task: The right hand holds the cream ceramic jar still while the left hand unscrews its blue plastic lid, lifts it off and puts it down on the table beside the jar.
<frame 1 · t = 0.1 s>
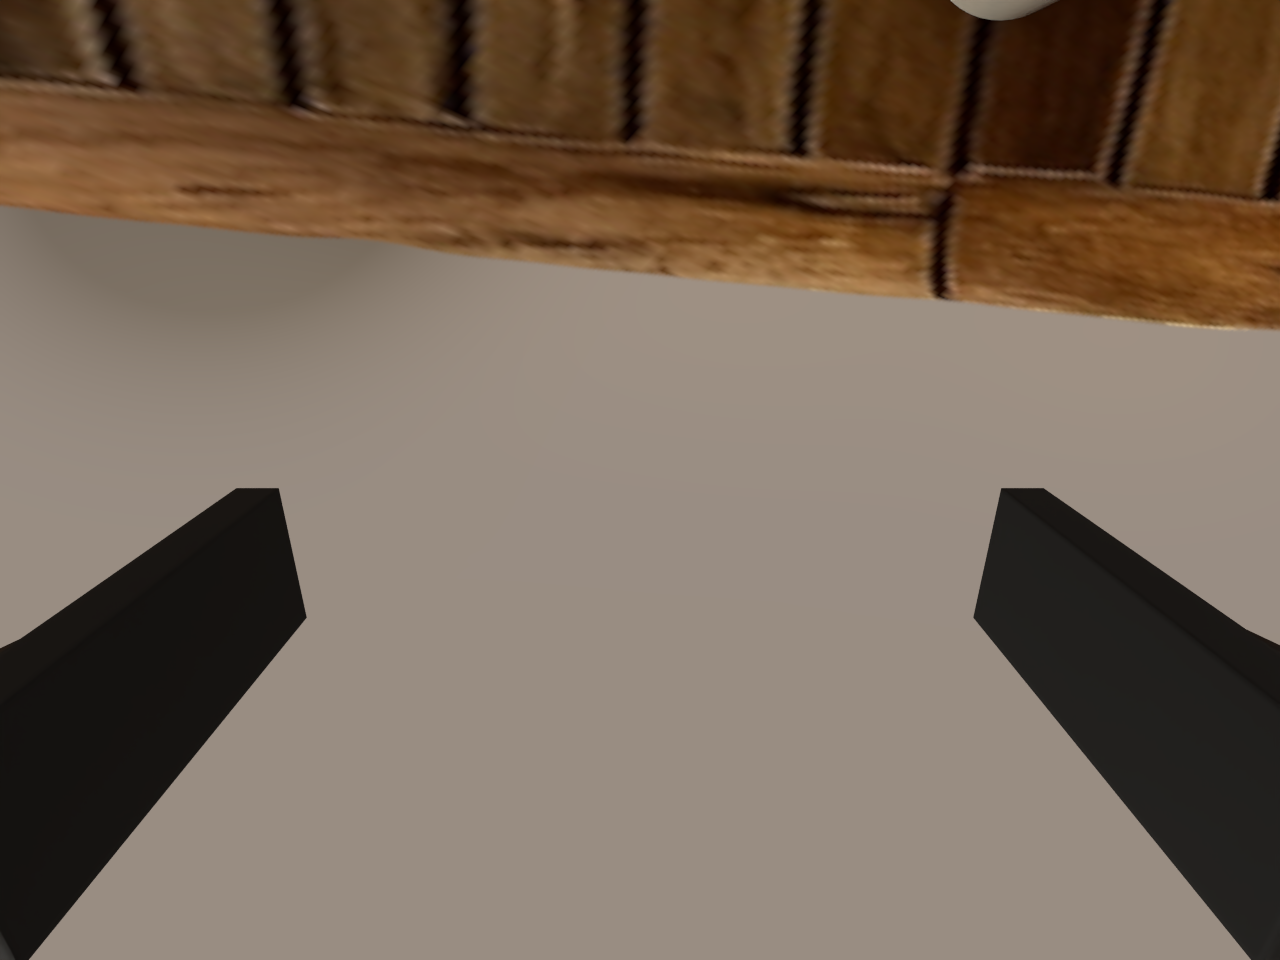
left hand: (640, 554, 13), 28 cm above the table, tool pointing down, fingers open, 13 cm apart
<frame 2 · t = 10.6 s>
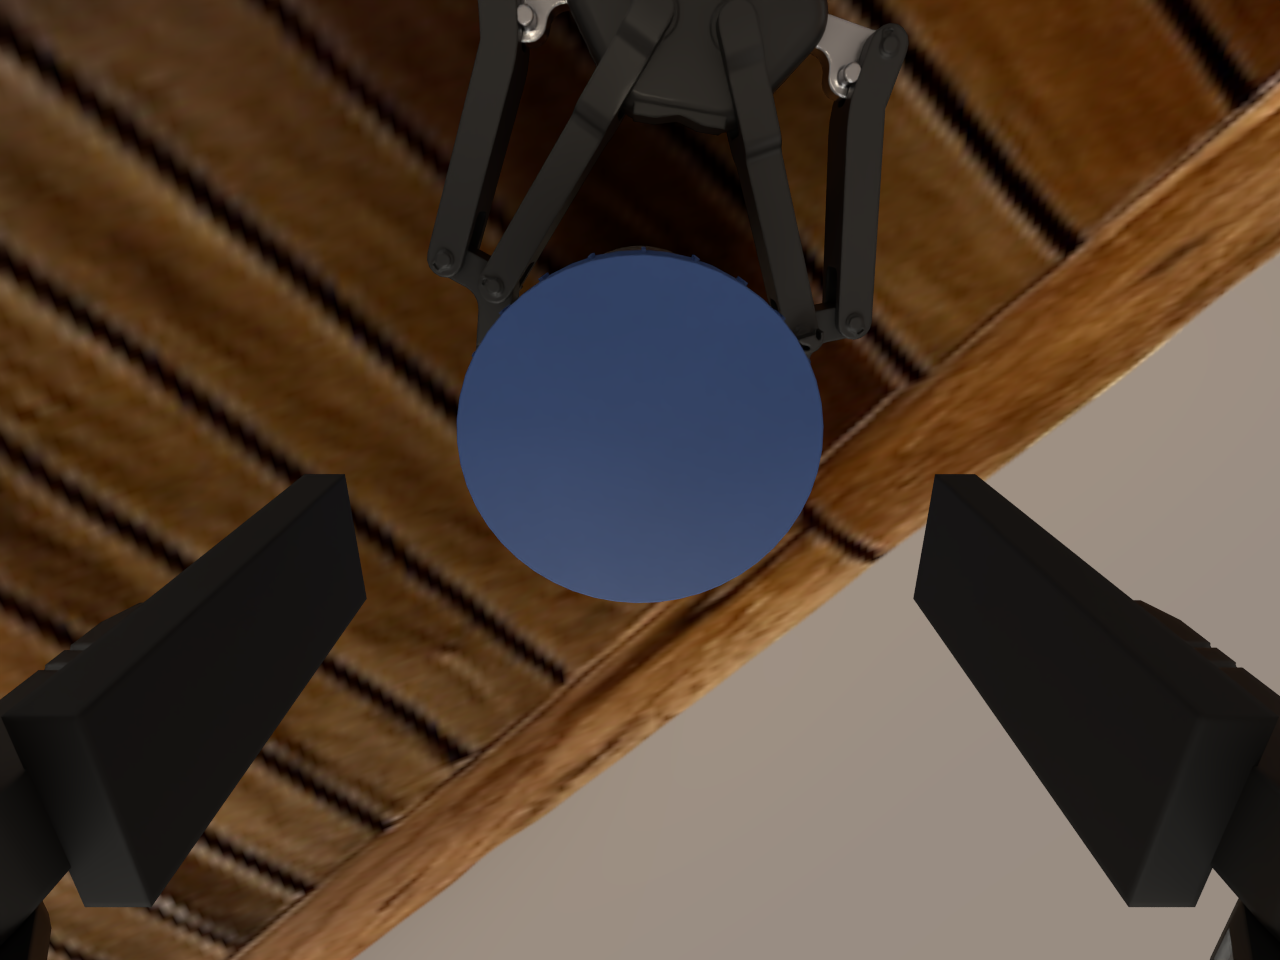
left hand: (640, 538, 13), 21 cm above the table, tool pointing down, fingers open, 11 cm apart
right hand: (623, 479, 28), fingers closed on jar, 9 cm apart
lid: (640, 442, 19), point 15 cm above the table, screwed on, not yet turned
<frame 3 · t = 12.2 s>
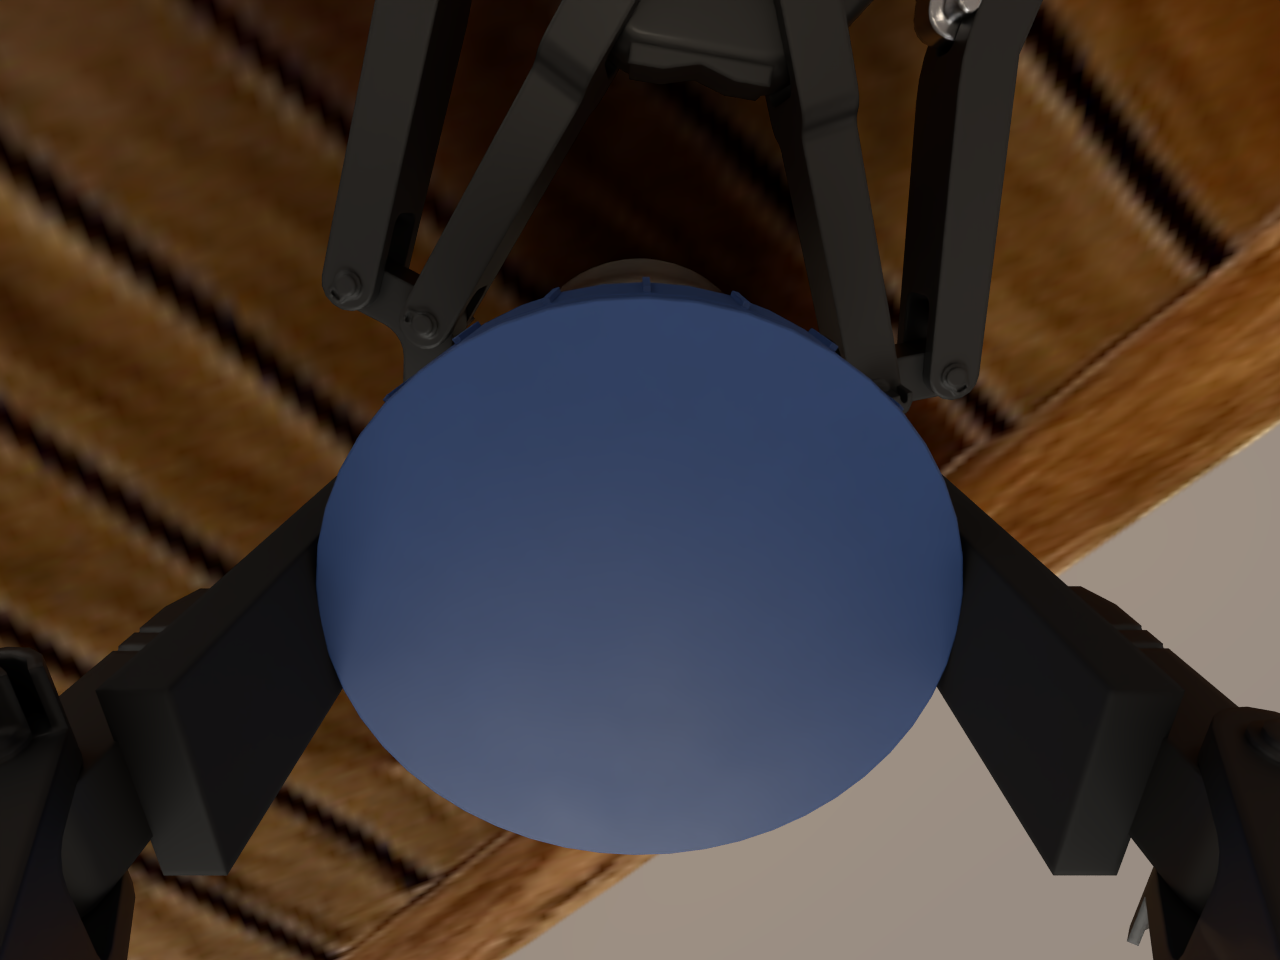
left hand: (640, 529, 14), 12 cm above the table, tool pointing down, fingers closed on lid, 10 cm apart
lid: (639, 612, 11), point 15 cm above the table, screwed on, not yet turned, touching left hand
jar: (639, 383, 25), on the table, touching right hand
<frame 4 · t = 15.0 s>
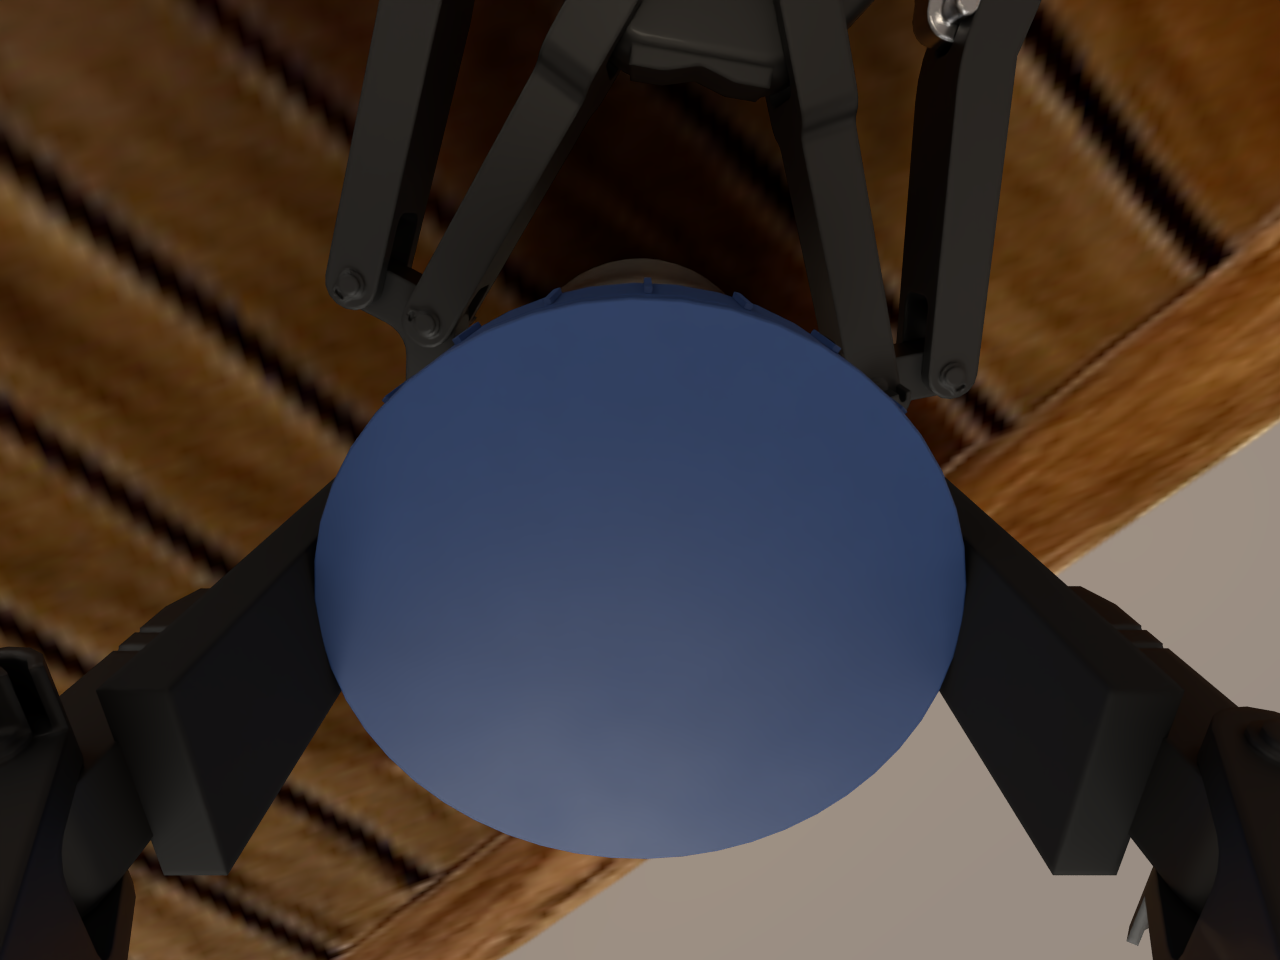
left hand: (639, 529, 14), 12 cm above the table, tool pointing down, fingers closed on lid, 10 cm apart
lid: (640, 615, 11), point 15 cm above the table, turned 62° so far, risen 0.2 cm, still on its thread, touching left hand
jar: (640, 382, 25), on the table, touching right hand
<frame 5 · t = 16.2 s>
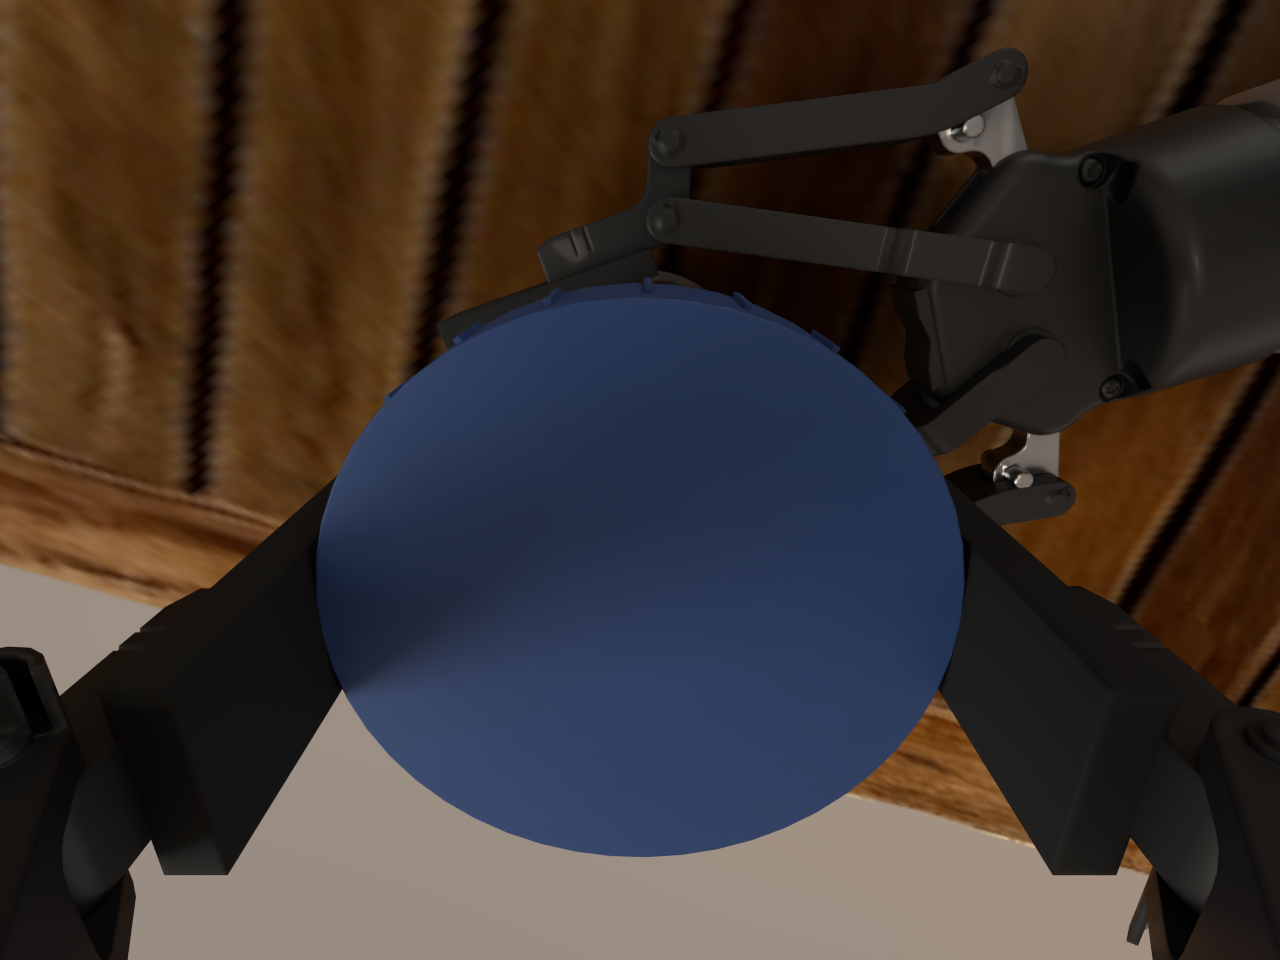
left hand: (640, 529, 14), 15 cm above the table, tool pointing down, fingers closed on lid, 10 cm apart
right hand: (512, 465, 22), fingers closed on jar, 9 cm apart
lid: (640, 614, 11), point 18 cm above the table, off its thread, touching left hand
jar: (643, 379, 28), on the table, touching right hand
when the left hand's fingers open (0 cm above the table, at t = 20.9 s): lid drops 2 cm, point 1 cm above the table.
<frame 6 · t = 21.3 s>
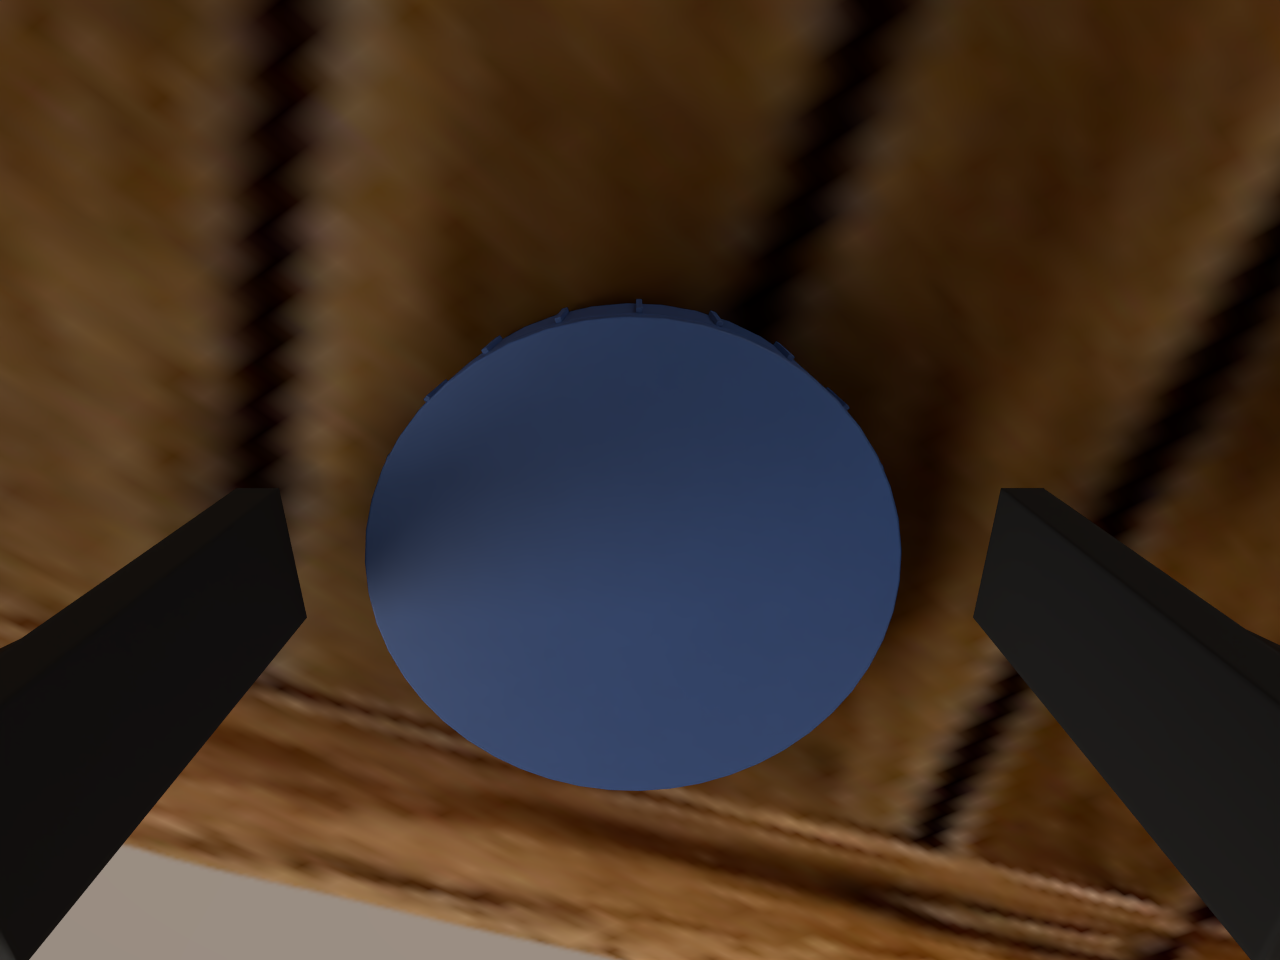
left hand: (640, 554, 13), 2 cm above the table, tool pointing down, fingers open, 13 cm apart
lid: (633, 578, 13), point 1 cm above the table, off its thread
when the right hand's fingers open (7 cm above the table, at t = 21.9 s): jar stays where it is, on the table.
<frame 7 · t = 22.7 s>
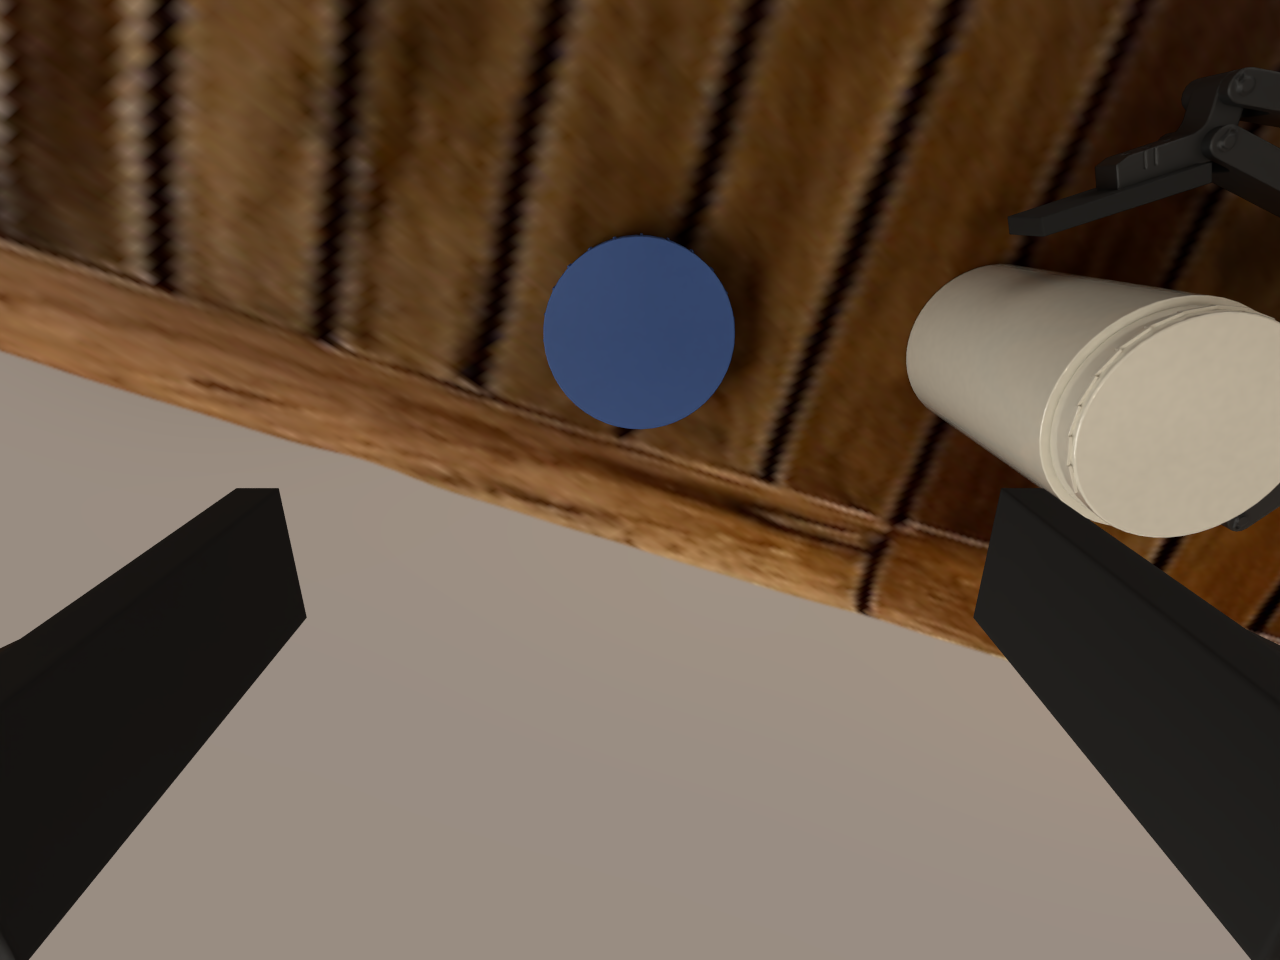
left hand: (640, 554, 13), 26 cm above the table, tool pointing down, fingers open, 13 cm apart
lid: (639, 336, 35), point 1 cm above the table, off its thread
jar: (986, 347, 37), on the table
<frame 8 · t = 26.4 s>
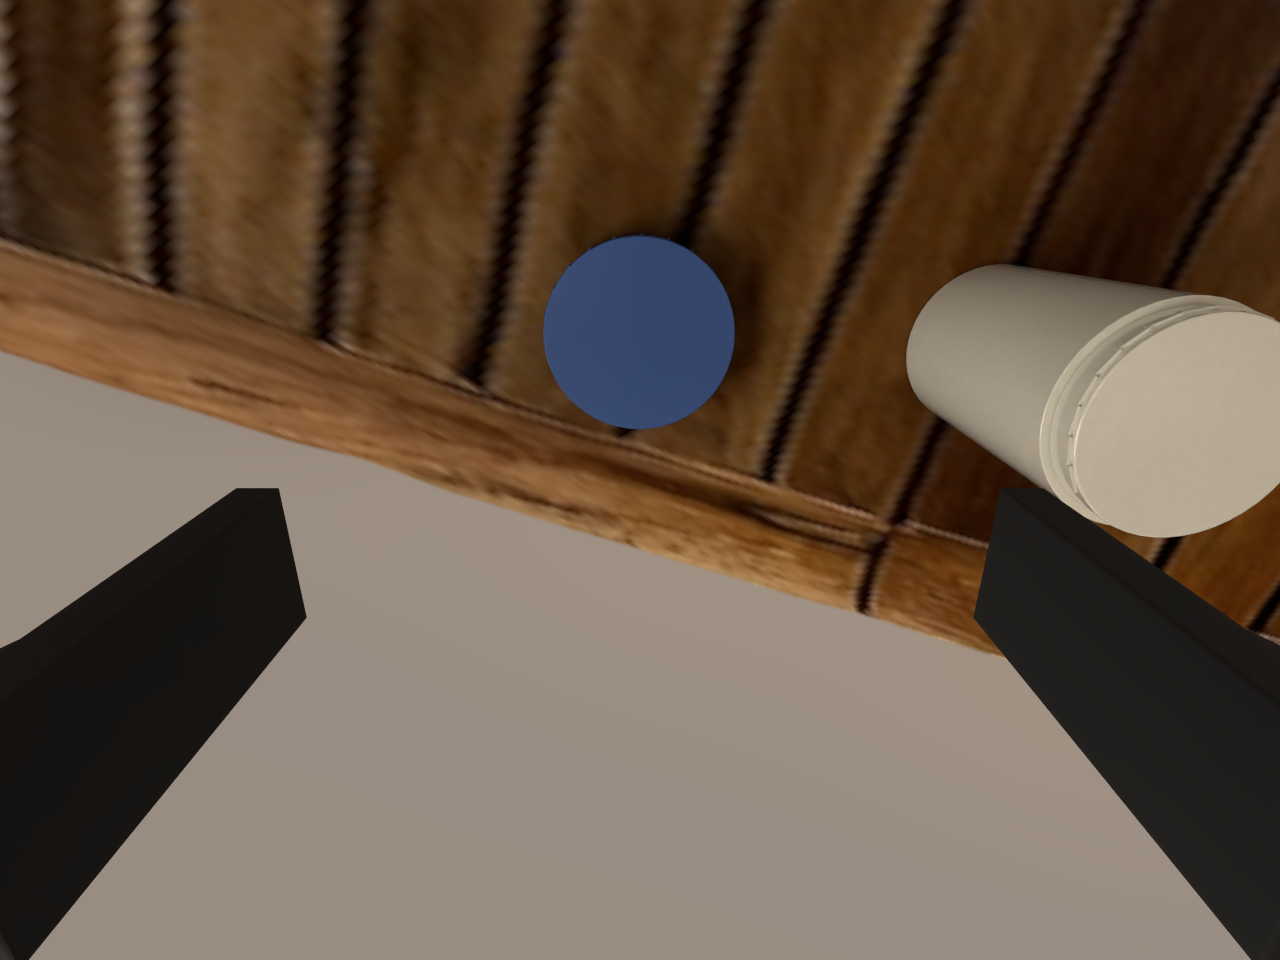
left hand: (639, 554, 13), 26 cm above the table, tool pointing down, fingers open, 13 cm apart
lid: (639, 336, 35), point 1 cm above the table, off its thread
jar: (986, 347, 37), on the table
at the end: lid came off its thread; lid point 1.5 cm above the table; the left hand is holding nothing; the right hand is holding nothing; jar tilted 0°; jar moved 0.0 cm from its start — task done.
